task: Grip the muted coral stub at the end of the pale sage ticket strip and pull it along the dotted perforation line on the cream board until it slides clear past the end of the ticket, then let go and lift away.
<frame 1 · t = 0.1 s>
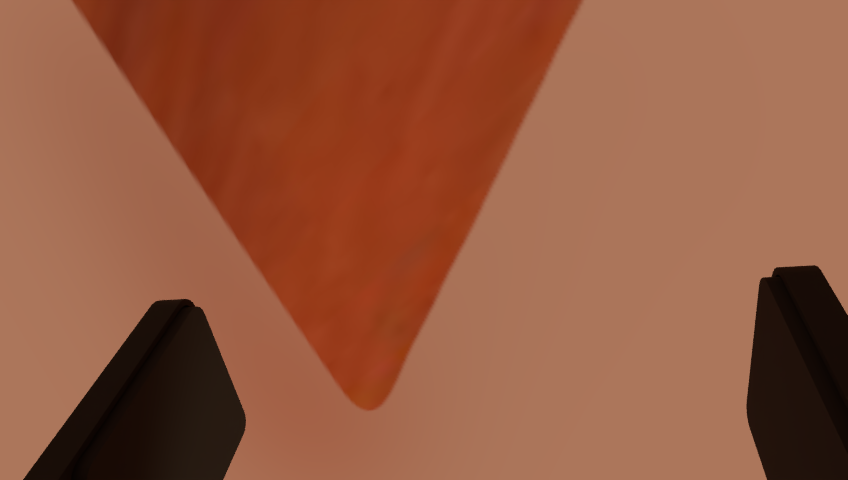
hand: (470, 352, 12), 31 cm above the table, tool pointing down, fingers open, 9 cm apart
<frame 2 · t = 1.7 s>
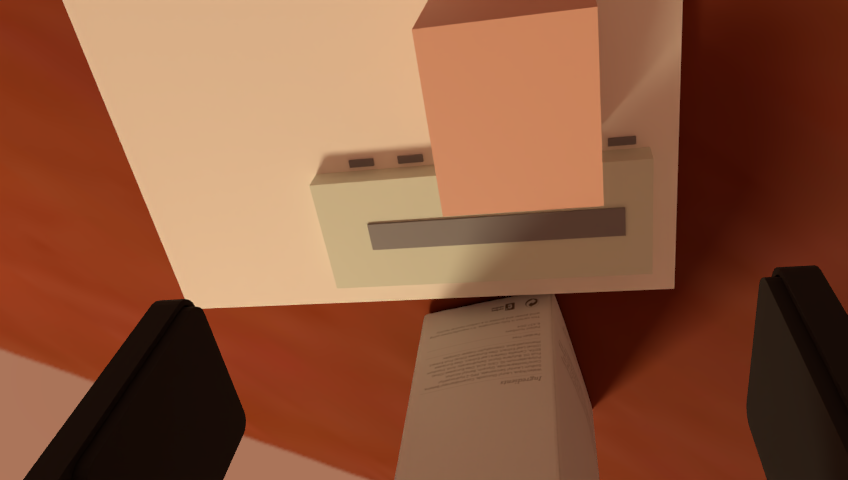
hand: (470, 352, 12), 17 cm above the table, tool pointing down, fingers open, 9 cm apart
stub: (515, 91, 23), point 4 cm above the table, slide at 0.0 cm
skincare box: (516, 360, 34), on the table
ticket board: (386, 121, 28), on the table
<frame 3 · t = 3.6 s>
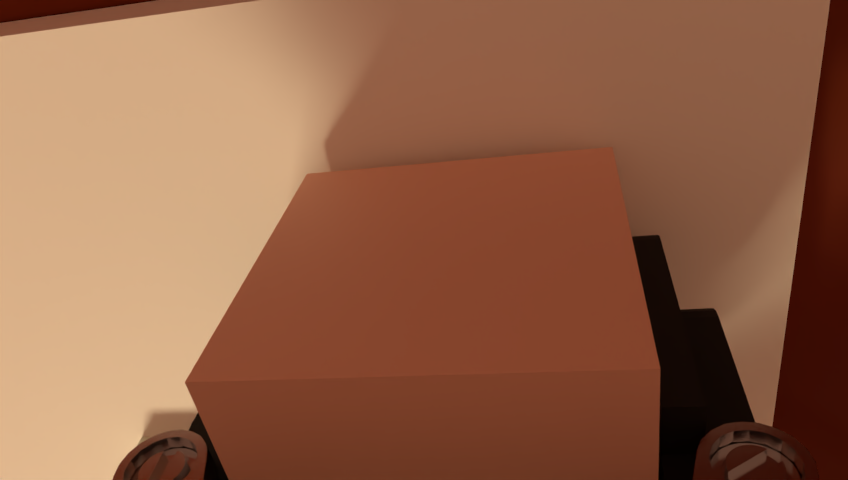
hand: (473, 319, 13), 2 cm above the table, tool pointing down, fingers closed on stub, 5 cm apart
stub: (464, 407, 11), point 4 cm above the table, slide at 0.0 cm, touching gripper
ticket board: (258, 351, 17), on the table
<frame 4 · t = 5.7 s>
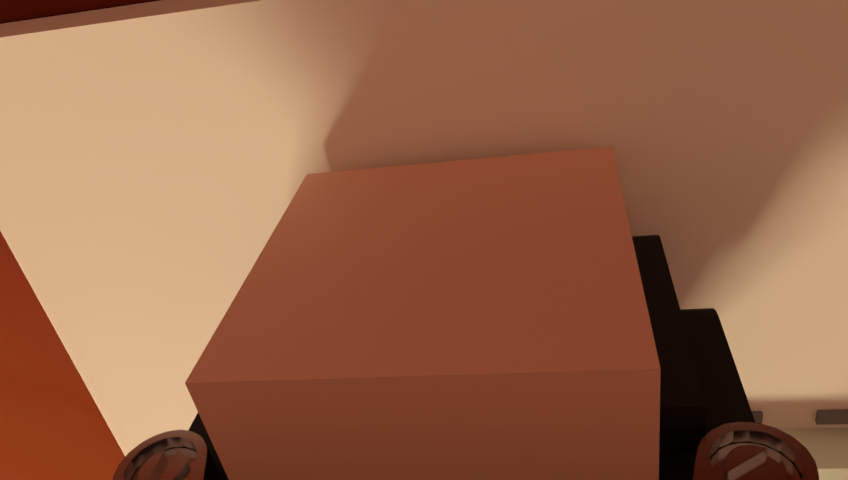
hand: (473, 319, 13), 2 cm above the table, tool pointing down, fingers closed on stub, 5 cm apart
stub: (464, 407, 11), point 4 cm above the table, slide at 7.3 cm, touching gripper
ticket board: (575, 339, 15), on the table
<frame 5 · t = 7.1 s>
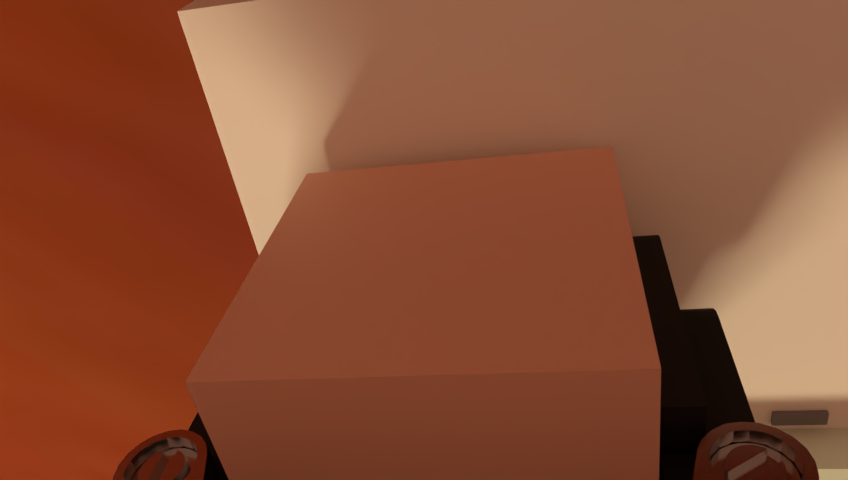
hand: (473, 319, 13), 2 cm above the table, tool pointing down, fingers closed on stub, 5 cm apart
stub: (464, 407, 11), point 4 cm above the table, slide at 12.5 cm, touching gripper
ticket board: (840, 329, 14), on the table
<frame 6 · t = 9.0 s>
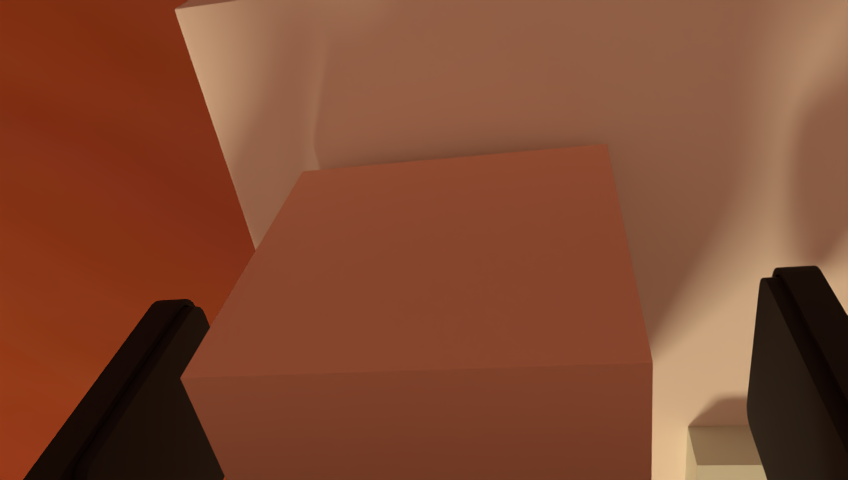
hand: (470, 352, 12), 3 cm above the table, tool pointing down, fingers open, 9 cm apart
stub: (459, 403, 11), point 4 cm above the table, slide at 12.5 cm
ticket board: (836, 325, 14), on the table
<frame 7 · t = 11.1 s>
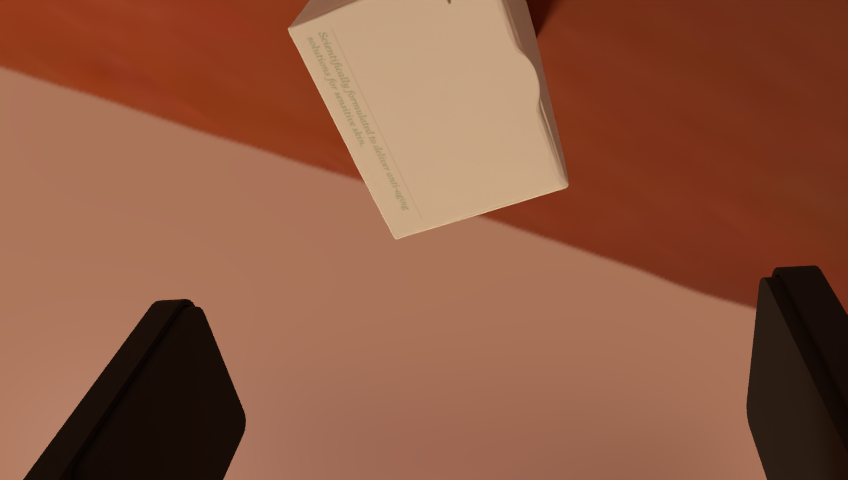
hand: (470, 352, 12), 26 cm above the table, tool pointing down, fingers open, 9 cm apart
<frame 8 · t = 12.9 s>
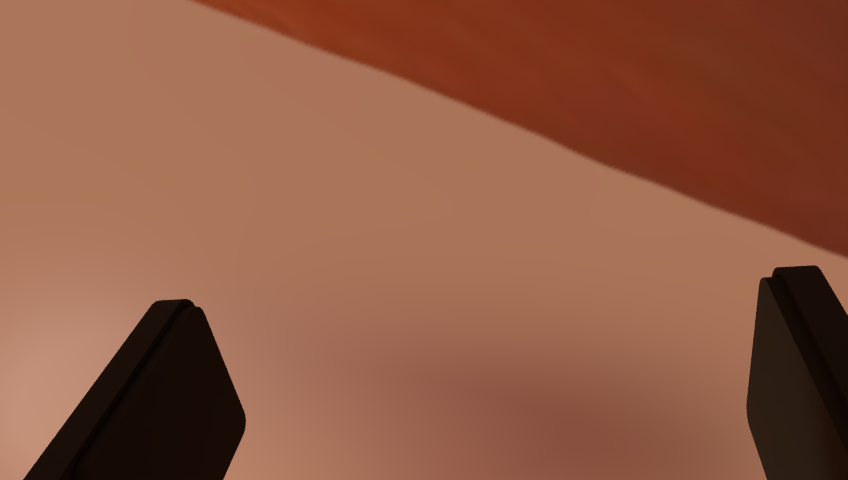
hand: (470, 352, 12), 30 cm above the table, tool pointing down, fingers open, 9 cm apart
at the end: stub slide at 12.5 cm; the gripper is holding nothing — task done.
